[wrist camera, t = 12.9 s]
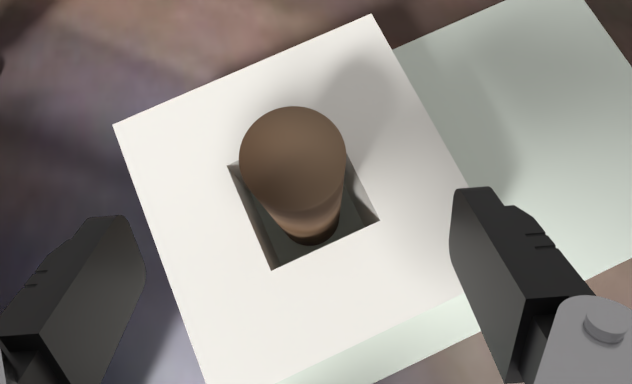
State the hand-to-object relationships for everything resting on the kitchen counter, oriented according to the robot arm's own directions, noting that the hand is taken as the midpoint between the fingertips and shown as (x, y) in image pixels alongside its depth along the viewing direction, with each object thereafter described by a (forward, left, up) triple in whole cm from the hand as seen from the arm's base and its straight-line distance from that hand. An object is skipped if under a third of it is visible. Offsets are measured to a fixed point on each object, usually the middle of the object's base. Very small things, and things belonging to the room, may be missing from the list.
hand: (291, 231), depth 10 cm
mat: (-7, -1, -11) cm, 13 cm away
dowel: (-1, -2, -11) cm, 11 cm away
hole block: (-1, -2, -11) cm, 11 cm away
